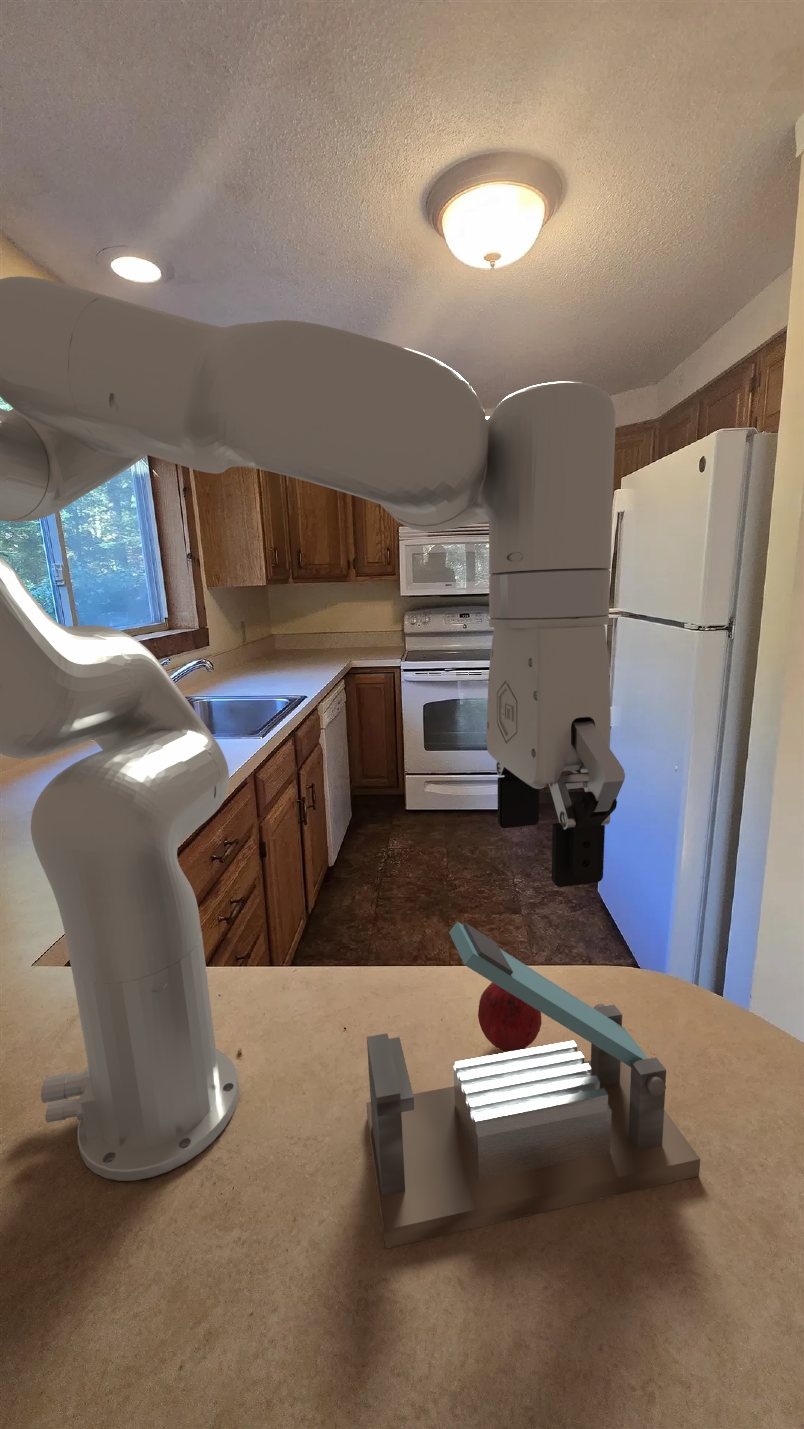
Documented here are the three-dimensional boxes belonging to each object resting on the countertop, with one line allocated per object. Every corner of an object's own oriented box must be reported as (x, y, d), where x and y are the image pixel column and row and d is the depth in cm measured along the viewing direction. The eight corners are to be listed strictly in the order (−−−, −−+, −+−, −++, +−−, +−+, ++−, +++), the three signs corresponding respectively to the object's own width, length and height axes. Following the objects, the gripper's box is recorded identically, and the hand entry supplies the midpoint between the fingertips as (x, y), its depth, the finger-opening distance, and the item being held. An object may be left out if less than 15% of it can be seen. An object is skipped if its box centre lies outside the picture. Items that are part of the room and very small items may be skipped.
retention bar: (464, 964, 39) (476, 949, 39) (449, 932, 43) (459, 918, 42) (645, 1076, 43) (656, 1063, 43) (617, 1037, 47) (627, 1025, 47)
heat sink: (478, 1181, 41) (477, 1127, 40) (454, 1105, 47) (453, 1057, 46) (610, 1152, 42) (611, 1100, 42) (570, 1082, 49) (570, 1036, 48)
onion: (542, 1077, 51) (542, 997, 50) (476, 1069, 52) (475, 990, 51) (540, 1030, 57) (540, 956, 55) (481, 1023, 58) (479, 951, 56)
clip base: (385, 1248, 38) (378, 1127, 36) (367, 1118, 48) (360, 1017, 46) (699, 1176, 42) (706, 1062, 40) (623, 1068, 52) (627, 973, 50)
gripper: (454, 604, 45) (458, 813, 48) (552, 605, 28) (547, 923, 32) (545, 601, 46) (542, 804, 50) (688, 600, 30) (670, 906, 33)
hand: (544, 850), depth 41 cm, fingers open, 9 cm apart
